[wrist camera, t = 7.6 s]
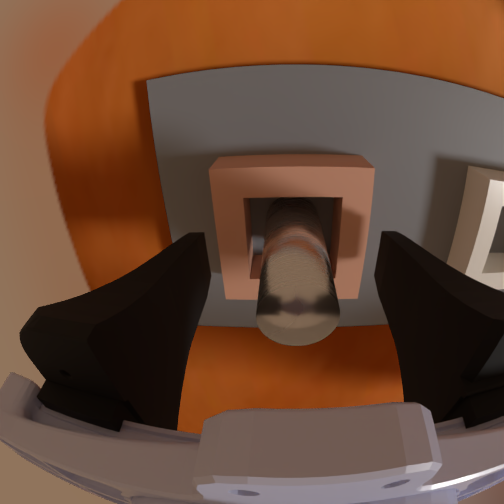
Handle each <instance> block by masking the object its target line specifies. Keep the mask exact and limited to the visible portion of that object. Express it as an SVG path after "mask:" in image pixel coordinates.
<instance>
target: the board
mask: <svg viewBox="0 0 504 504" xmlns="http://www.w3.org/2000/svg"><path fill="white" fill-rule="evenodd" d="M147 90H148V99H149V107H150V115H151V123H152V130H153V137H154V144H155V150H156V157H157V163H158V169H159V175H160V181H161V187H162V192H163V198H164V203H165V208H166V213H167V218H168V223H169V228H170V233H171V238H172V243H174V242H175V241H177V240H178V239H180V238H181V237H182V236H184V235H186V234H187V233H189V232H204V233H205V240H206V246H207V252H208V259H209V265H210V271H211V281H210V286H209V291H208V296H207V299H206V302H205V305H204V308H203V311H202V314H201V317H200V320H199V323H198V325H203V326H227V327H258V325H257V322H256V309H257V300H237V299H226V297H225V290H224V283H223V276H222V269H221V262H220V255H219V248H218V240H217V233H216V225H215V218H214V210H213V202H212V194H211V186H210V177H209V169H210V167H211V166H212V165H213V163H214V162H215V161H216V160H217V159H218V157H225V156H244V155H273V154H332V155H361V156H363V157H364V158H365V159H366V160H367V161H368V162H369V163H370V164H371V165H372V166H373V167H374V168H375V174H374V186H373V196H372V206H371V215H370V223H369V231H368V239H367V246H366V252H365V259H364V265H363V271H362V277H361V283H360V288H359V294H358V299H338V302H339V307H340V320H339V323H338V325H337V326H336V327H342V326H366V325H383V324H388V321H387V318H386V315H385V313H384V310H383V307H382V304H381V301H380V299H379V296H378V291H377V287H376V282H375V278H374V272H375V267H376V261H377V256H378V250H379V244H380V238H381V231H397V232H399V233H401V234H403V235H404V236H406V237H408V238H409V239H411V240H412V241H414V242H415V243H416V244H418V245H419V246H421V247H422V248H424V249H425V250H427V251H428V252H430V253H431V254H433V255H434V256H436V257H437V258H439V259H440V260H442V261H443V262H445V263H447V260H448V257H449V253H450V250H451V246H452V242H453V239H454V235H455V231H456V227H457V222H458V218H459V214H460V209H461V204H462V199H463V194H464V189H465V183H466V177H467V171H468V166H474V167H480V168H486V169H492V170H498V171H503V172H504V98H501V97H498V96H495V95H492V94H489V93H486V92H483V91H479V90H476V89H473V88H469V87H465V86H462V85H458V84H454V83H450V82H446V81H442V80H437V79H432V78H428V77H423V76H417V75H412V74H406V73H400V72H393V71H386V70H378V69H370V68H360V67H348V66H333V65H259V66H243V67H231V68H221V69H212V70H204V71H197V72H190V73H184V74H178V75H172V76H166V77H161V78H156V79H151V80H147ZM278 198H279V197H264V198H249V200H250V214H251V228H252V242H253V255H262V254H263V244H264V235H265V225H266V216H267V211H268V209H269V207H270V205H271V204H272V203H273V202H274V201H275V200H276V199H278ZM305 198H307V199H309V200H310V201H311V202H312V203H313V204H314V206H315V207H316V209H317V212H318V216H319V220H320V224H321V228H322V232H323V236H324V240H325V244H326V248H327V252H328V254H330V247H331V234H332V219H333V202H334V197H305ZM489 253H504V206H502V208H501V213H500V216H499V220H498V224H497V228H496V231H495V235H494V238H493V241H492V244H491V248H490V251H489ZM499 291H502V292H504V289H500V290H499Z"/></svg>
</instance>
